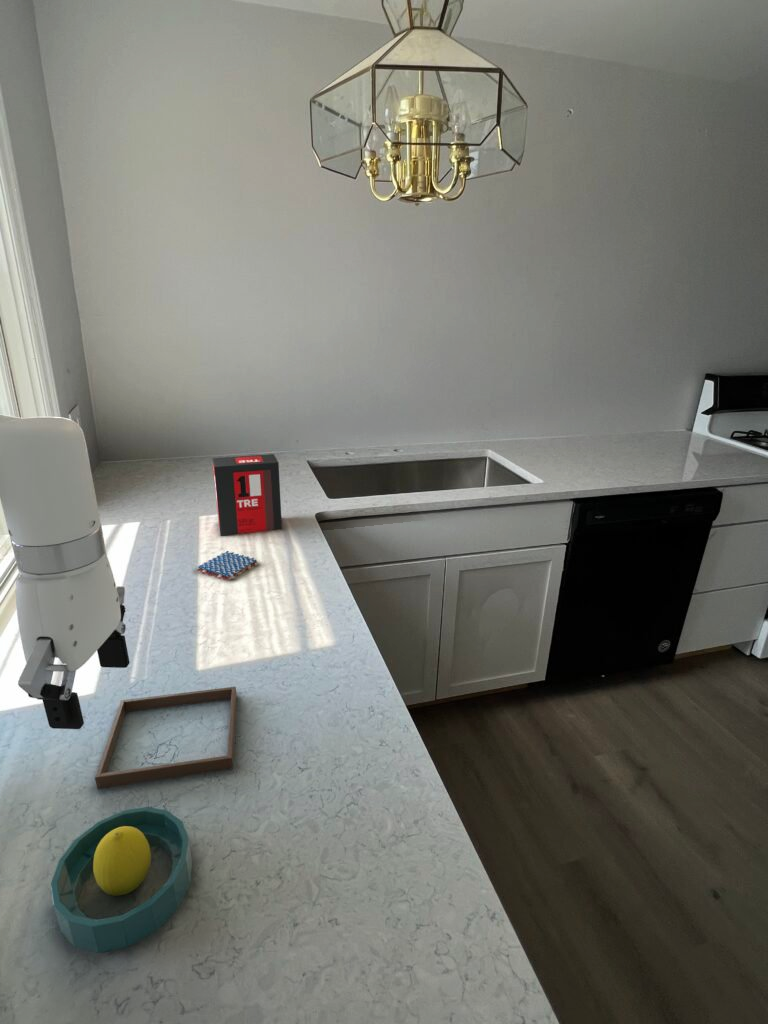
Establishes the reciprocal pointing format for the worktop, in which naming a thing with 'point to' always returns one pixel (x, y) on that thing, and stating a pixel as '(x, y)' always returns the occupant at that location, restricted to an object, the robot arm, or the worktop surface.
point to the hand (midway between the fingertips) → (93, 694)
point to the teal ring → (140, 920)
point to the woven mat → (227, 565)
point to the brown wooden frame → (172, 769)
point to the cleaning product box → (247, 494)
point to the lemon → (121, 860)
